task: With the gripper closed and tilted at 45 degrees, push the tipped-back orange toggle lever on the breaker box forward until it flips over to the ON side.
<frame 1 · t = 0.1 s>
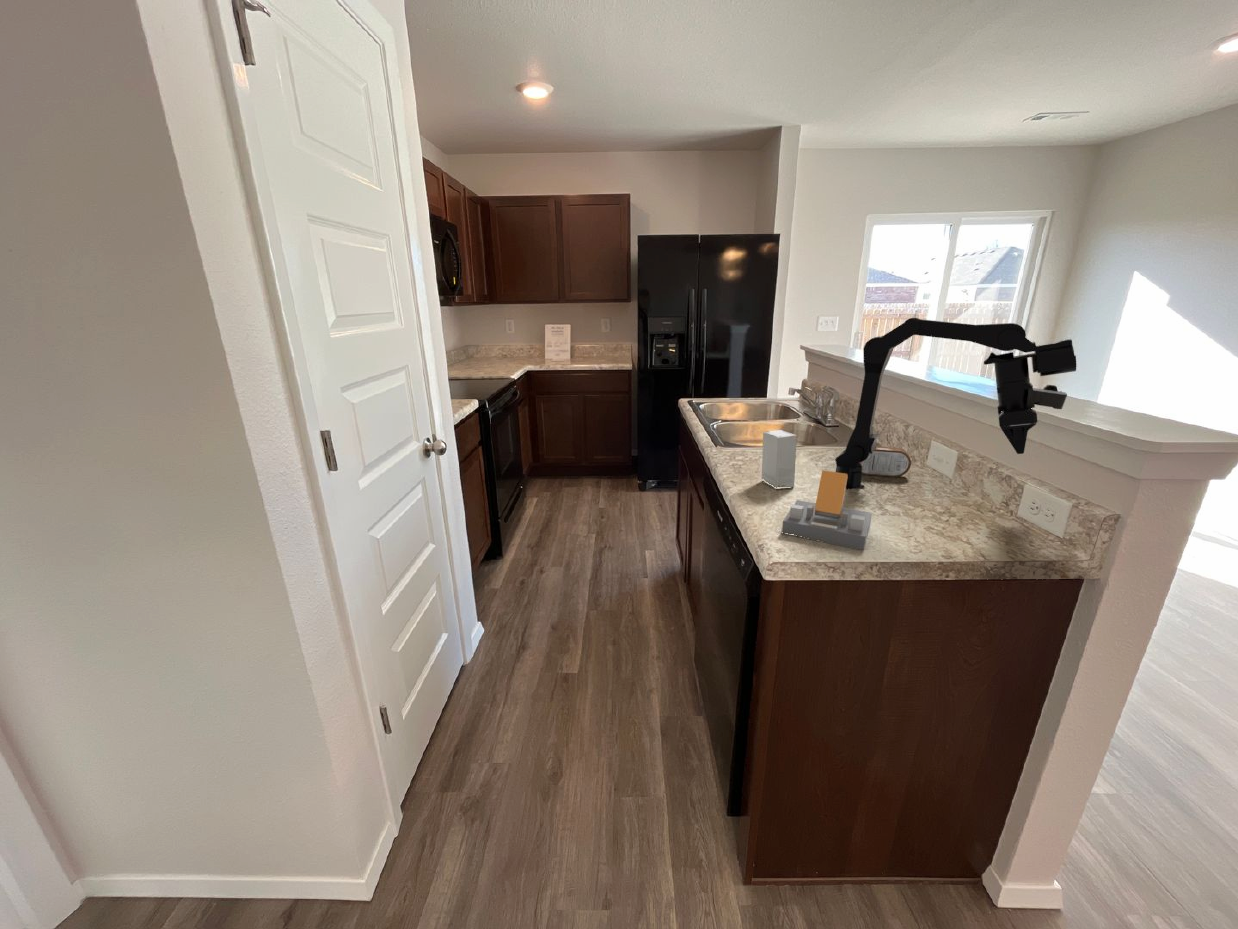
hand: (1019, 449, 109), 15 cm above the countertop, tool pointing down, fingers open, 9 cm apart
breaker box: (825, 532, 105), on the countertop
skincare box: (776, 485, 135), on the countertop
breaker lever: (830, 495, 104), point 8 cm above the countertop, hinge at -33.0°
tin: (879, 475, 141), on the countertop
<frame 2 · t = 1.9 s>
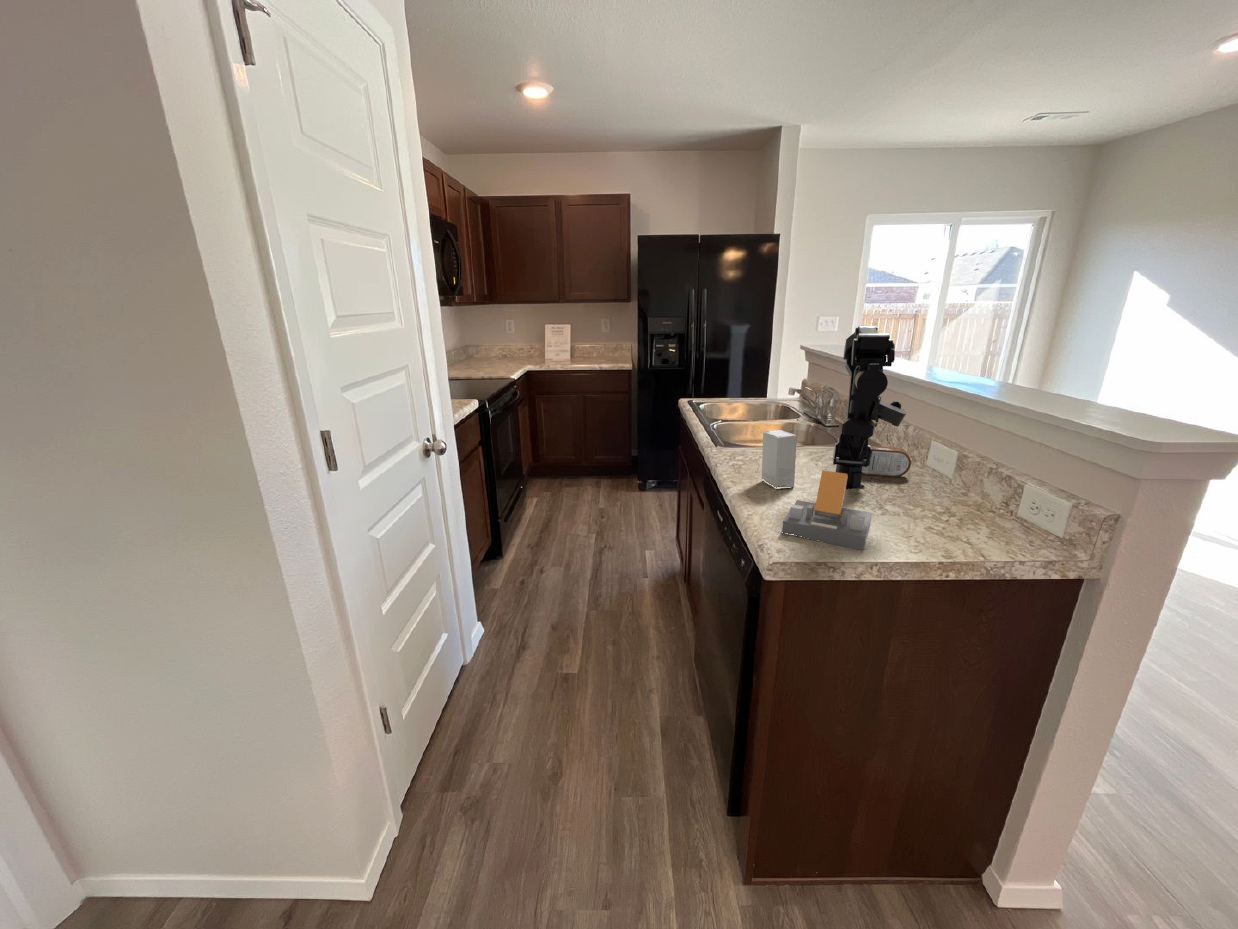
hand: (857, 456, 114), 13 cm above the countertop, tool pointing down, fingers open, 7 cm apart
nothing on the countertop moved.
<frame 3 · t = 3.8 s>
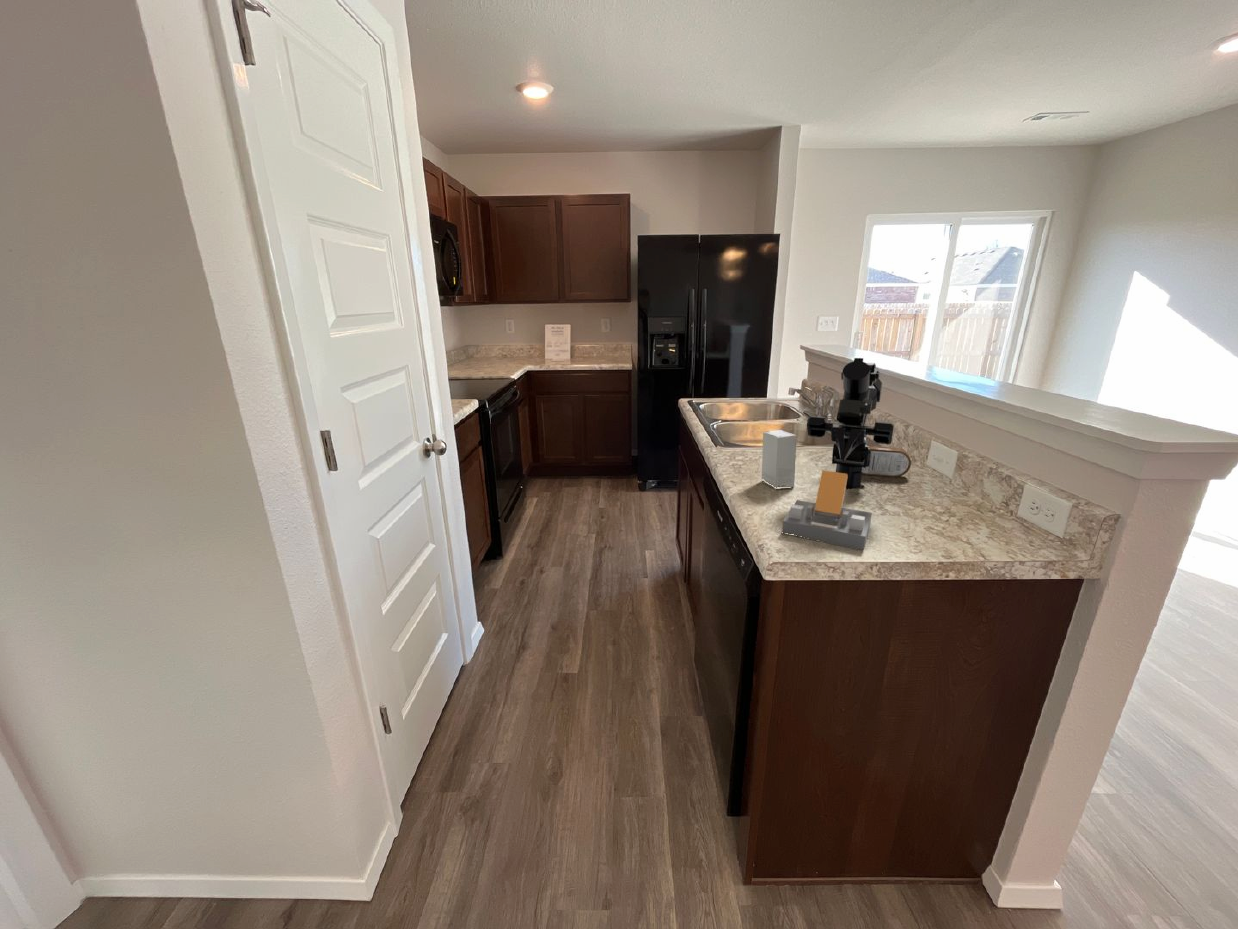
hand: (842, 459, 114), 12 cm above the countertop, tool tilted 45°, fingers closed
nothing on the countertop moved.
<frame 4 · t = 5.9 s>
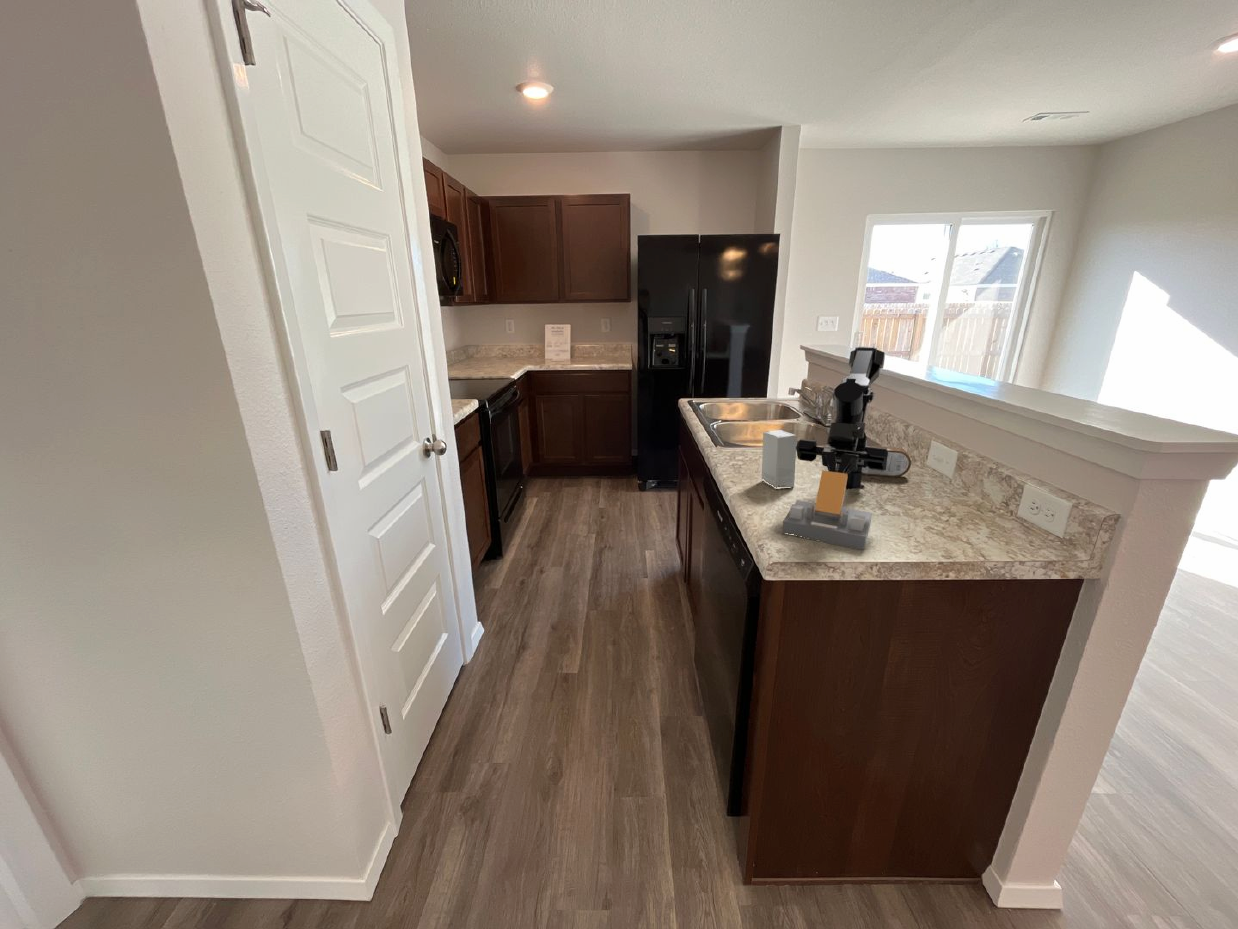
hand: (833, 486, 106), 9 cm above the countertop, tool tilted 45°, fingers closed, pressing on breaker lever
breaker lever: (830, 495, 104), point 8 cm above the countertop, hinge at -33.0°, touching gripper
everything else where it was.
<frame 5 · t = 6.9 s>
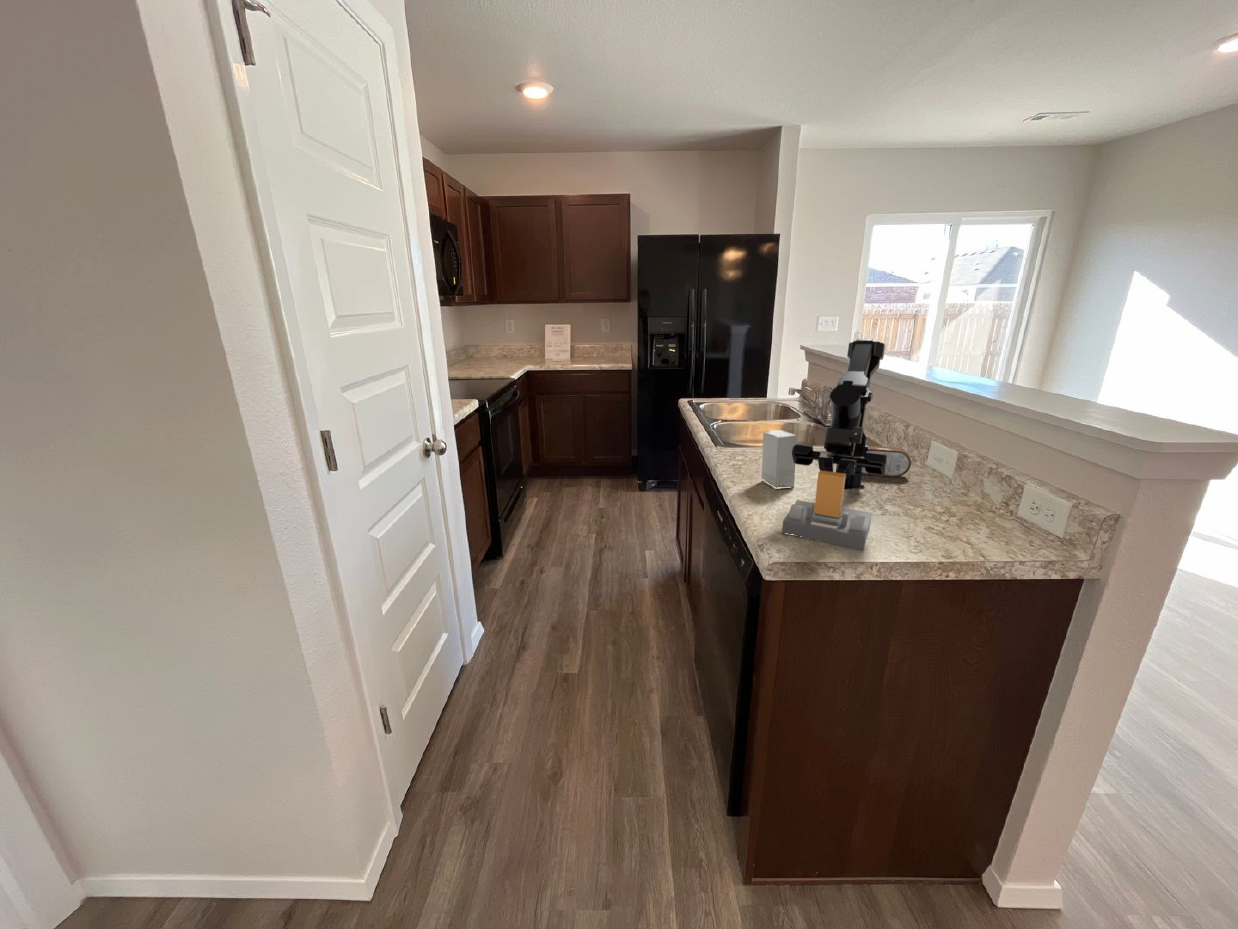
hand: (830, 493, 103), 9 cm above the countertop, tool tilted 40°, fingers closed, pressing on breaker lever
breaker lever: (829, 495, 102), point 9 cm above the countertop, hinge at 1.4°, touching gripper
everything else where it was.
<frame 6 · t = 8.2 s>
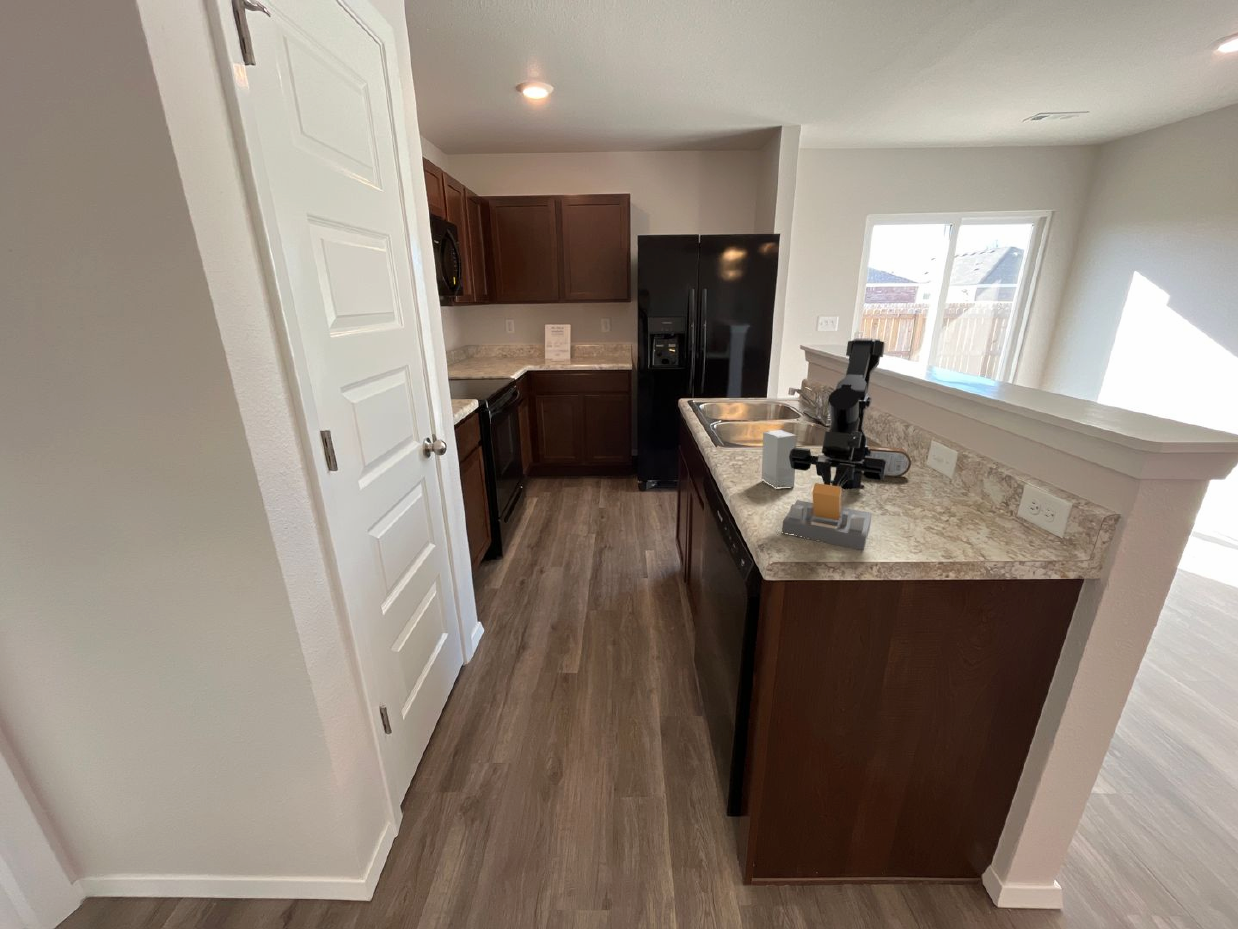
hand: (828, 498, 101), 8 cm above the countertop, tool tilted 45°, fingers closed, pressing on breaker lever
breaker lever: (827, 503, 100), point 8 cm above the countertop, hinge at 37.3°, touching gripper
everything else where it was.
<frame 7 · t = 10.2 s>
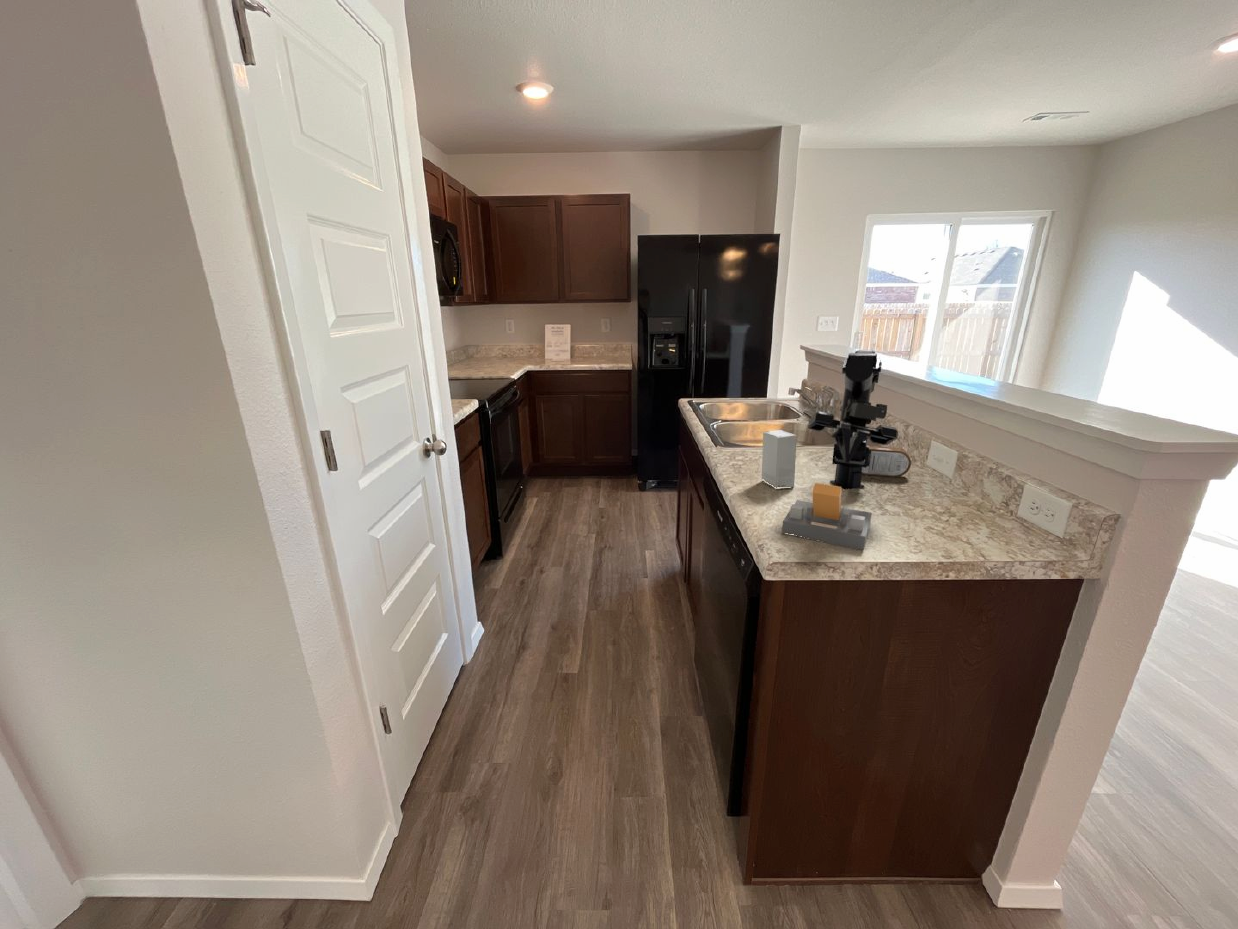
hand: (846, 462, 112), 12 cm above the countertop, tool tilted 35°, fingers closed
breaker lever: (827, 503, 100), point 8 cm above the countertop, hinge at 37.4°
everything else where it was.
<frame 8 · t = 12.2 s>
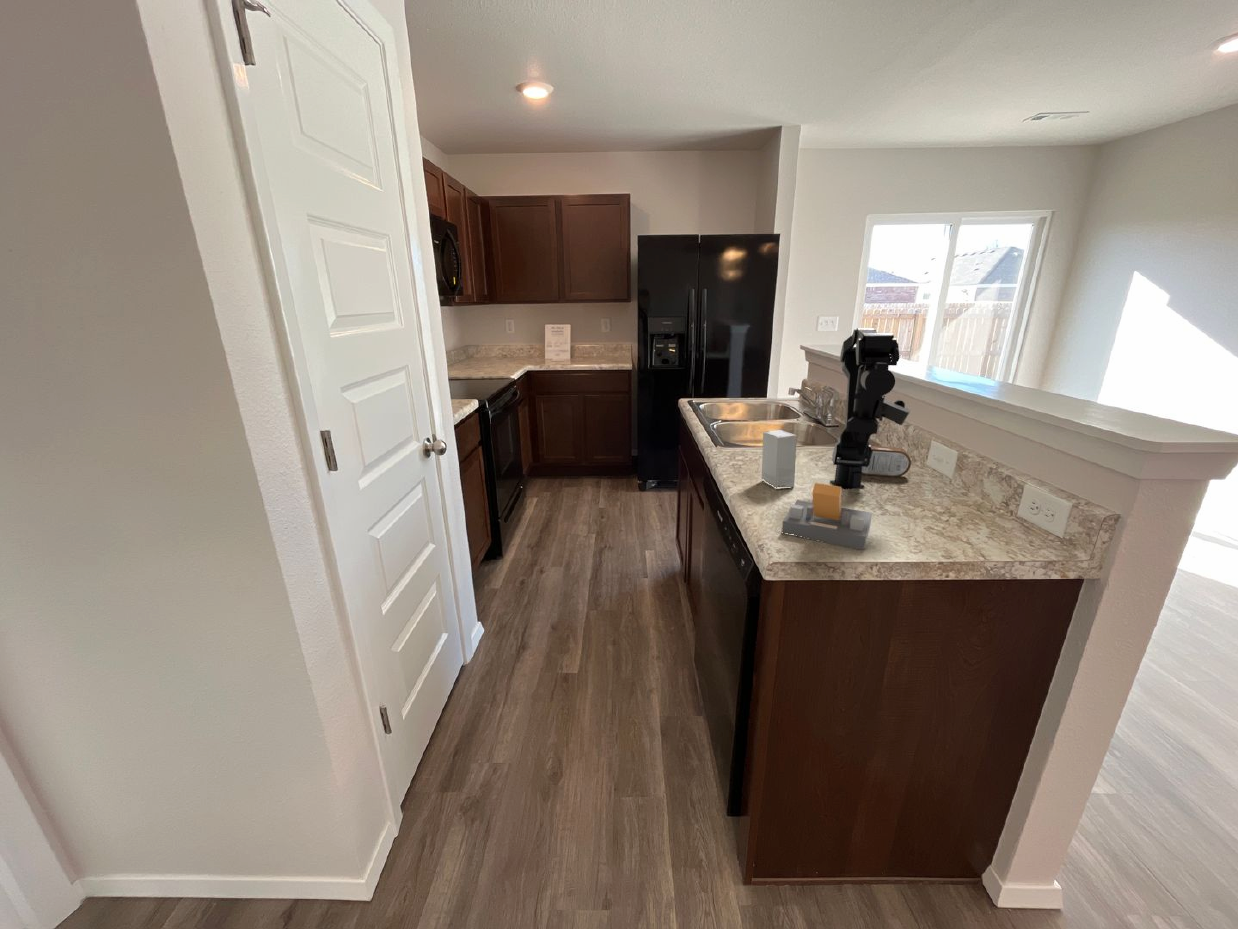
hand: (861, 454, 115), 13 cm above the countertop, tool pointing down, fingers closed
nothing on the countertop moved.
at the end: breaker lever at +37° (first picture: -33°); skincare box moved 0.2 cm from its start; tin moved 0.3 cm from its start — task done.
